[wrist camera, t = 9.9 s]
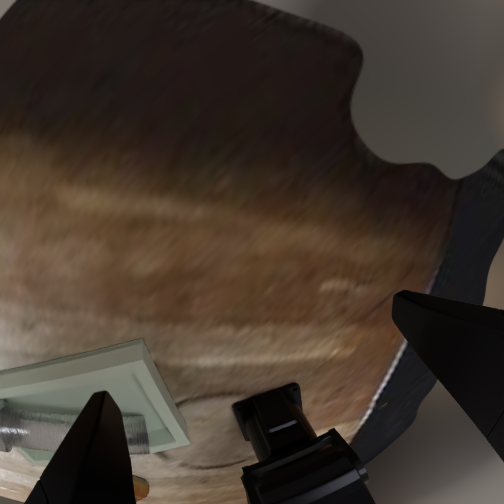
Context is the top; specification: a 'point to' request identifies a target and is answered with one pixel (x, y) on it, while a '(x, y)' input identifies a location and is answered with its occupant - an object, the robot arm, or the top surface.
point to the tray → (93, 380)
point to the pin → (57, 430)
